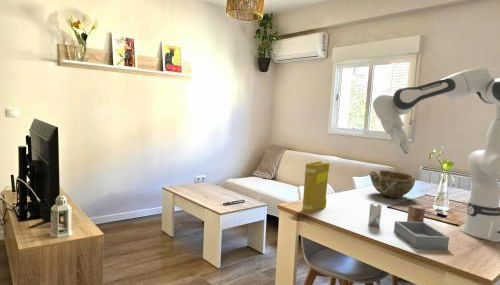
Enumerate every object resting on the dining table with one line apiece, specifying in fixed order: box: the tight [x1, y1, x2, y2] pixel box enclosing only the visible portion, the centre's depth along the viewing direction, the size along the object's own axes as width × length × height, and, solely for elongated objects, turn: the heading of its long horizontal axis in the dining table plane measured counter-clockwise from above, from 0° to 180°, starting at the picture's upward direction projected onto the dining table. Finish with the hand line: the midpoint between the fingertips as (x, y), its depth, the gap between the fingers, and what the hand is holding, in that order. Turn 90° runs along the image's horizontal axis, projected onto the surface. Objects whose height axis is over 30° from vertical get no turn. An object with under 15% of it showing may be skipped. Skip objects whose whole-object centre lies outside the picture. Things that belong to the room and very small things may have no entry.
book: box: [301, 160, 331, 214], centre depth 175 cm, size 17×7×25 cm, turn 141°
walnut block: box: [406, 204, 426, 222], centre depth 157 cm, size 5×5×10 cm
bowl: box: [369, 170, 416, 199], centre depth 213 cm, size 28×27×15 cm
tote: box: [393, 220, 450, 250], centre depth 141 cm, size 14×18×5 cm
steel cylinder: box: [368, 203, 382, 228], centre depth 156 cm, size 5×5×10 cm
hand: (407, 152), depth 153 cm, fingers open, 8 cm apart
